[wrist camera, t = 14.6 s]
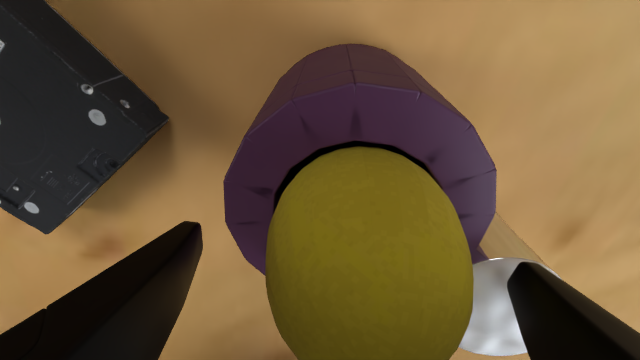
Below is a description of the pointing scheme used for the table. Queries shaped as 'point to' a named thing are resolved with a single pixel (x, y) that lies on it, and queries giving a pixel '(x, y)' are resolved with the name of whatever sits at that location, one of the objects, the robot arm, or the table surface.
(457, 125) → the jar
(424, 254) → the lemon
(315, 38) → the table surface
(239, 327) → the table surface
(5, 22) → the disk drive
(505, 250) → the shiny round-topped post
